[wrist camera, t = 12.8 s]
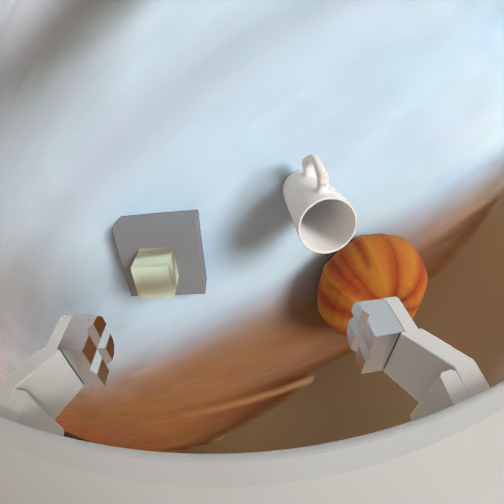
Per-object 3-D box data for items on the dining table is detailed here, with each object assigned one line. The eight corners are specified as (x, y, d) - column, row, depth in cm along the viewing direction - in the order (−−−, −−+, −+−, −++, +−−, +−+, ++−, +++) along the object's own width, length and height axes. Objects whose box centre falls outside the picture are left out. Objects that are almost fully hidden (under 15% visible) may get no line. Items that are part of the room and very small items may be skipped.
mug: (326, 208, 43) (355, 249, 33) (282, 213, 43) (299, 257, 33) (324, 141, 38) (358, 164, 28) (276, 146, 38) (294, 170, 28)
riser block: (120, 216, 41) (112, 228, 38) (198, 209, 42) (195, 221, 39) (137, 281, 48) (131, 296, 44) (206, 277, 48) (205, 293, 45)
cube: (139, 248, 40) (130, 268, 36) (173, 246, 40) (167, 266, 36) (146, 277, 43) (139, 298, 38) (178, 275, 43) (174, 297, 39)
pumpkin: (304, 315, 54) (323, 380, 42) (317, 222, 44) (351, 282, 32) (393, 306, 56) (424, 361, 43) (420, 222, 46) (469, 271, 33)
